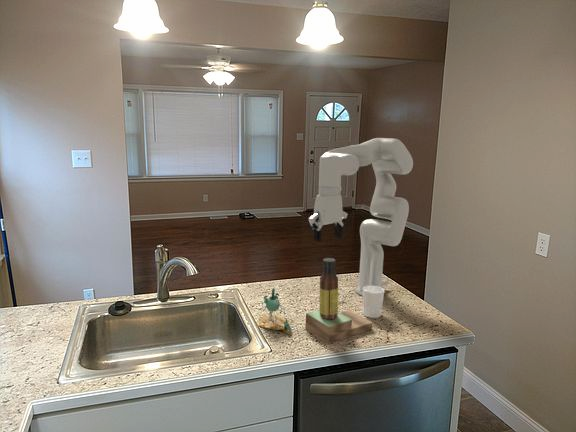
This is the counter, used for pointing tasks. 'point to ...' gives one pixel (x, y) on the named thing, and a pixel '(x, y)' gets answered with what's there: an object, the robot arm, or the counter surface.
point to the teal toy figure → (274, 321)
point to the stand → (336, 325)
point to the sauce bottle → (329, 290)
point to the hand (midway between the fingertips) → (327, 238)
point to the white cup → (372, 301)
